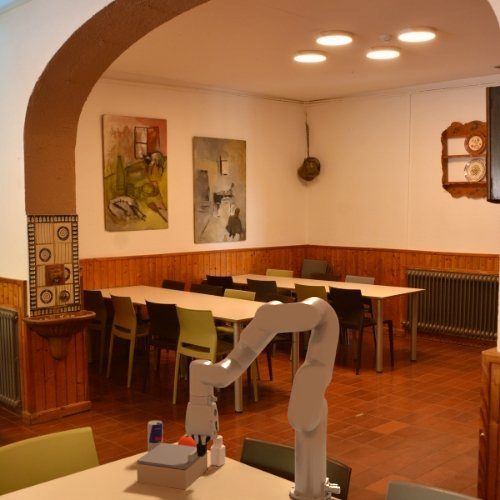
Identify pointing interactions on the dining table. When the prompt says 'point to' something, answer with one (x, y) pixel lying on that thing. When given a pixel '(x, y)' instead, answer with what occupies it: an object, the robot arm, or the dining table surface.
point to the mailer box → (171, 474)
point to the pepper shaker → (217, 452)
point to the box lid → (170, 456)
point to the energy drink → (154, 434)
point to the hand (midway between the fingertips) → (201, 455)
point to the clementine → (187, 441)
